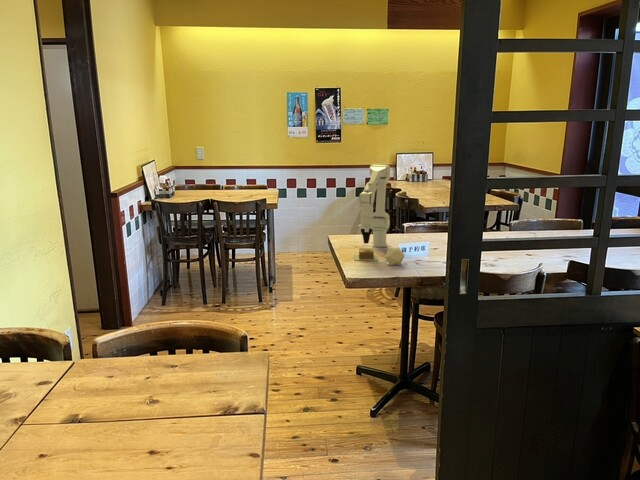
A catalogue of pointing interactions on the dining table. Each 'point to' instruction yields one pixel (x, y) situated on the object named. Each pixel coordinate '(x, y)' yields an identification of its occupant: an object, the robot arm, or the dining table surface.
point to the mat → (356, 258)
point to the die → (394, 256)
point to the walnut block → (366, 253)
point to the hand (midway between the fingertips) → (366, 243)
